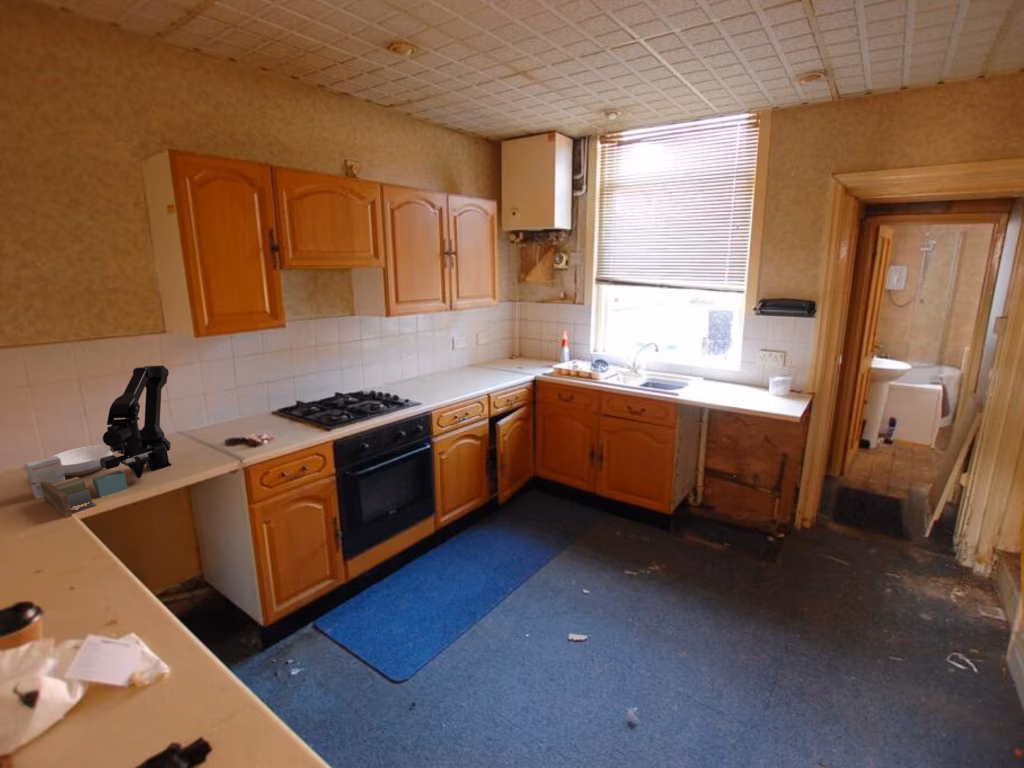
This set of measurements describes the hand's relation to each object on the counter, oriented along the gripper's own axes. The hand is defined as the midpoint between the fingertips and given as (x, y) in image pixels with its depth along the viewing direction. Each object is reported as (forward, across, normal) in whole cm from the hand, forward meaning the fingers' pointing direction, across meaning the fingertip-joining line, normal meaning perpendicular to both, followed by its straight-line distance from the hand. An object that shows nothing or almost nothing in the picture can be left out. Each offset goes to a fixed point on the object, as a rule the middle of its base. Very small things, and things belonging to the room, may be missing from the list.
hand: (138, 477), depth 190 cm
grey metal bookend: (+2, +19, +5) cm, 20 cm away
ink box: (+2, +20, -17) cm, 27 cm away
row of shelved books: (+2, +18, -6) cm, 20 cm away
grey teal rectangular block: (+2, +8, 0) cm, 9 cm away
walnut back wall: (+2, +23, 0) cm, 23 cm away
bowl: (+2, +7, -30) cm, 31 cm away
